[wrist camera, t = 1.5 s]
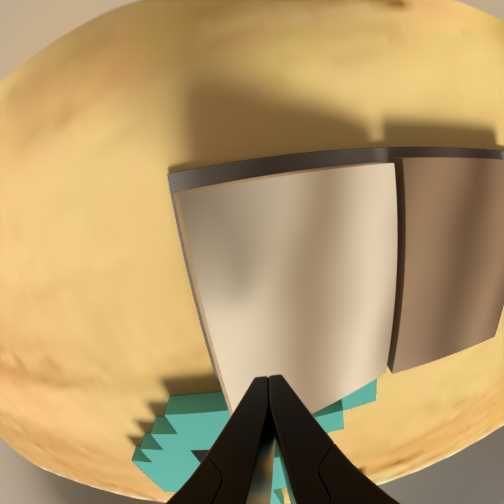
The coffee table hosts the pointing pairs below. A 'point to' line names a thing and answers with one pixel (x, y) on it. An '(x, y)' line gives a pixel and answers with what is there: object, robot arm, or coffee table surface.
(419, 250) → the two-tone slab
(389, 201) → the beige rectangular slab
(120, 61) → the coffee table surface
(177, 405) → the alien figure
